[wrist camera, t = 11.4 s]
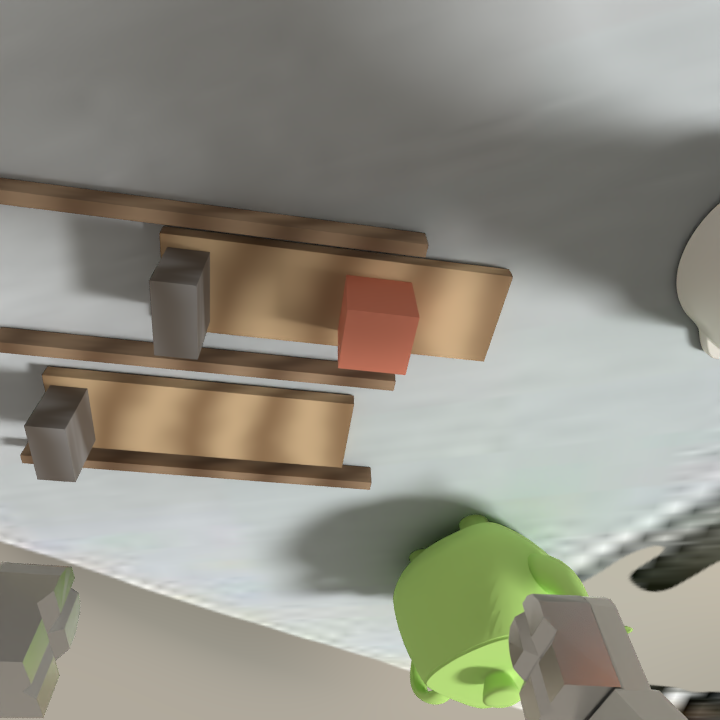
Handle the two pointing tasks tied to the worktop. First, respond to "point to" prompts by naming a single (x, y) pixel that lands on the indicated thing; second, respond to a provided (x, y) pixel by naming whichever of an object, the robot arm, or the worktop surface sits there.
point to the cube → (377, 325)
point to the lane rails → (208, 358)
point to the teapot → (472, 610)
